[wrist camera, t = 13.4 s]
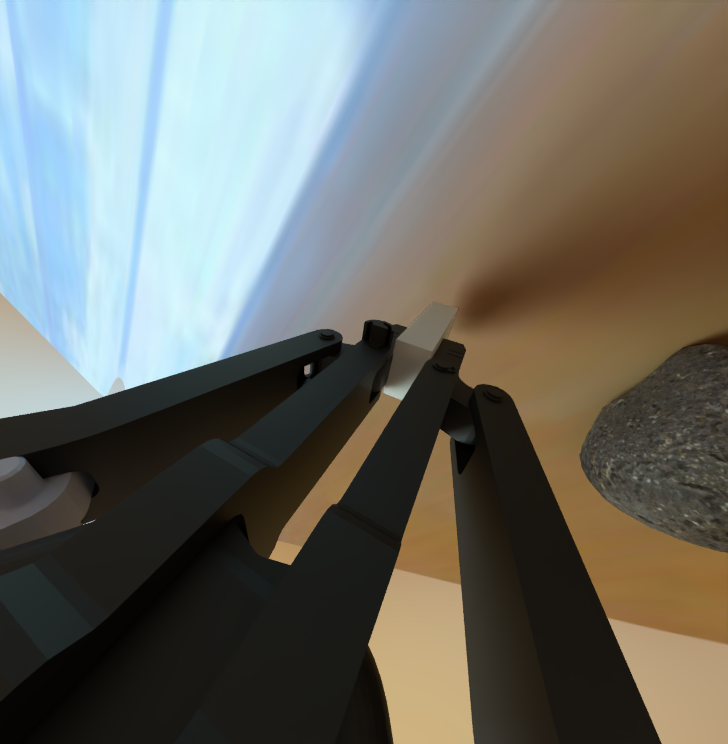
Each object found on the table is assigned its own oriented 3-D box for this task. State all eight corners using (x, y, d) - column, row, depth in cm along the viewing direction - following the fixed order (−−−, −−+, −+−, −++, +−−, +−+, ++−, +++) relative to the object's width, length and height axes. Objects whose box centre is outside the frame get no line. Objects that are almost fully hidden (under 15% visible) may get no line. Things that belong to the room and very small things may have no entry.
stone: (799, 334, 14) (763, 282, 9) (1035, 519, 9) (1194, 596, 5) (593, 411, 21) (516, 403, 16) (673, 535, 17) (599, 572, 12)
